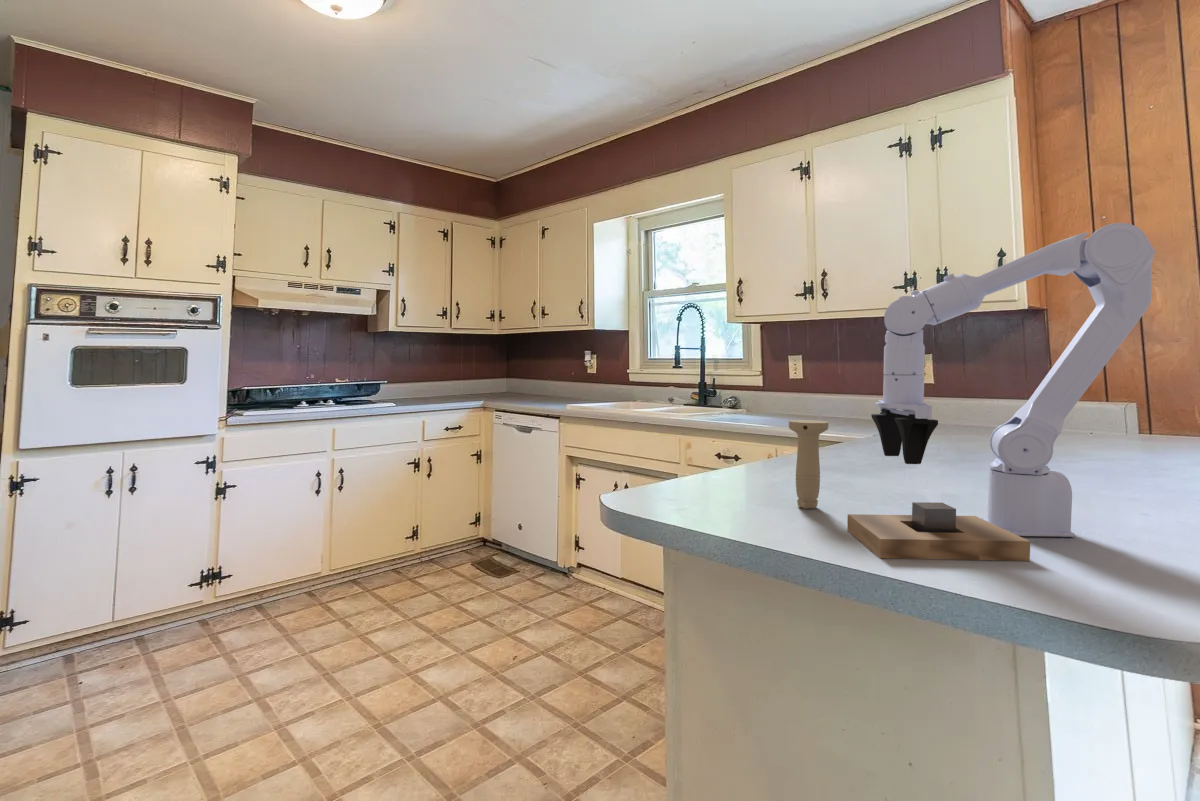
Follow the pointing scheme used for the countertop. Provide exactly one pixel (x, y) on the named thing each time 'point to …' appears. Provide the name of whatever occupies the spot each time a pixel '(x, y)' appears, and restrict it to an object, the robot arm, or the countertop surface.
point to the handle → (808, 460)
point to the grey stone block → (933, 517)
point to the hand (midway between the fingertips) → (901, 459)
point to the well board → (937, 539)
